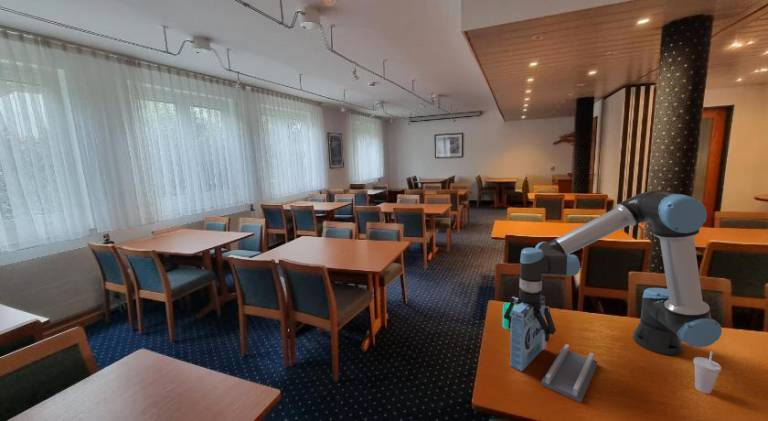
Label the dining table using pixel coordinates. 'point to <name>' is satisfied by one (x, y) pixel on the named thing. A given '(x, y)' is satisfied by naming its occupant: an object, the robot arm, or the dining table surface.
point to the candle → (505, 307)
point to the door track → (570, 374)
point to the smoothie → (705, 373)
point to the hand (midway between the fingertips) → (527, 341)
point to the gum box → (525, 335)
